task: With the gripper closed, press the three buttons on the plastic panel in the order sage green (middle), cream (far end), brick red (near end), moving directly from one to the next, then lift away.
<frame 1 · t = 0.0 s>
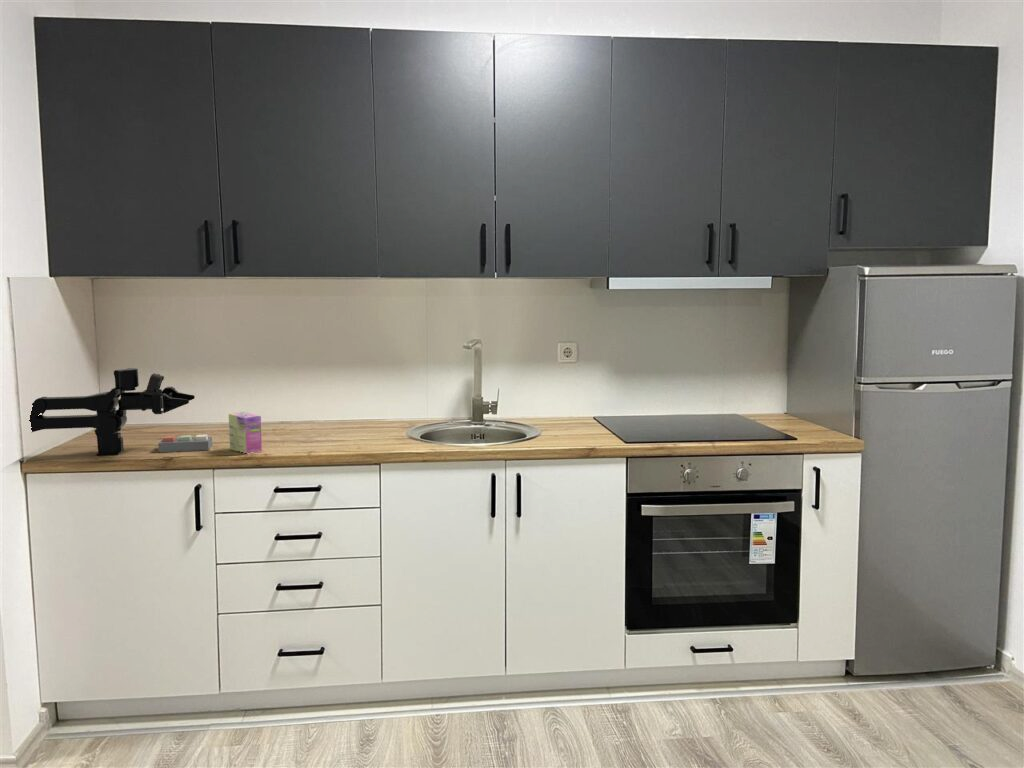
hand: (191, 399, 253), 17 cm above the worktop, tool horizontal, fingers open, 9 cm apart
cream button: (201, 438, 256), point 3 cm above the worktop, slide at 0.0 cm
red button: (169, 440, 254), point 3 cm above the worktop, slide at 0.0 cm
button panel: (186, 448, 256), on the worktop
box: (246, 451, 253), on the worktop
green button: (185, 439, 255), point 3 cm above the worktop, slide at 0.0 cm
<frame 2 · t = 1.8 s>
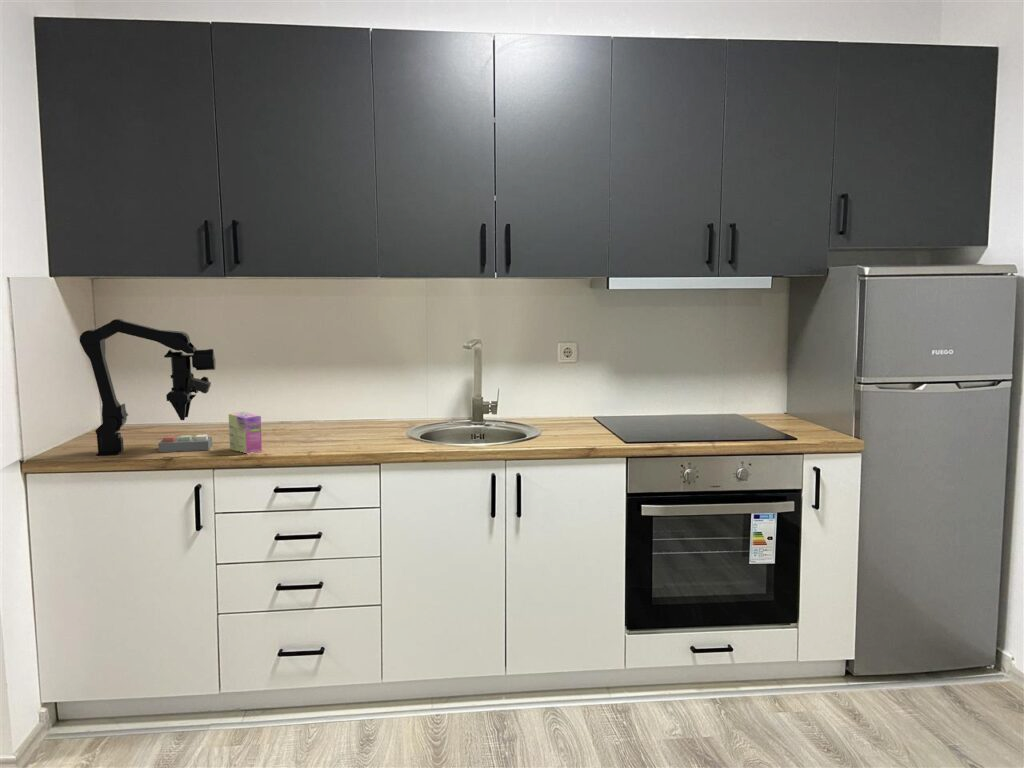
hand: (184, 418, 254), 10 cm above the worktop, tool pointing down, fingers open, 5 cm apart
nothing on the worktop moved.
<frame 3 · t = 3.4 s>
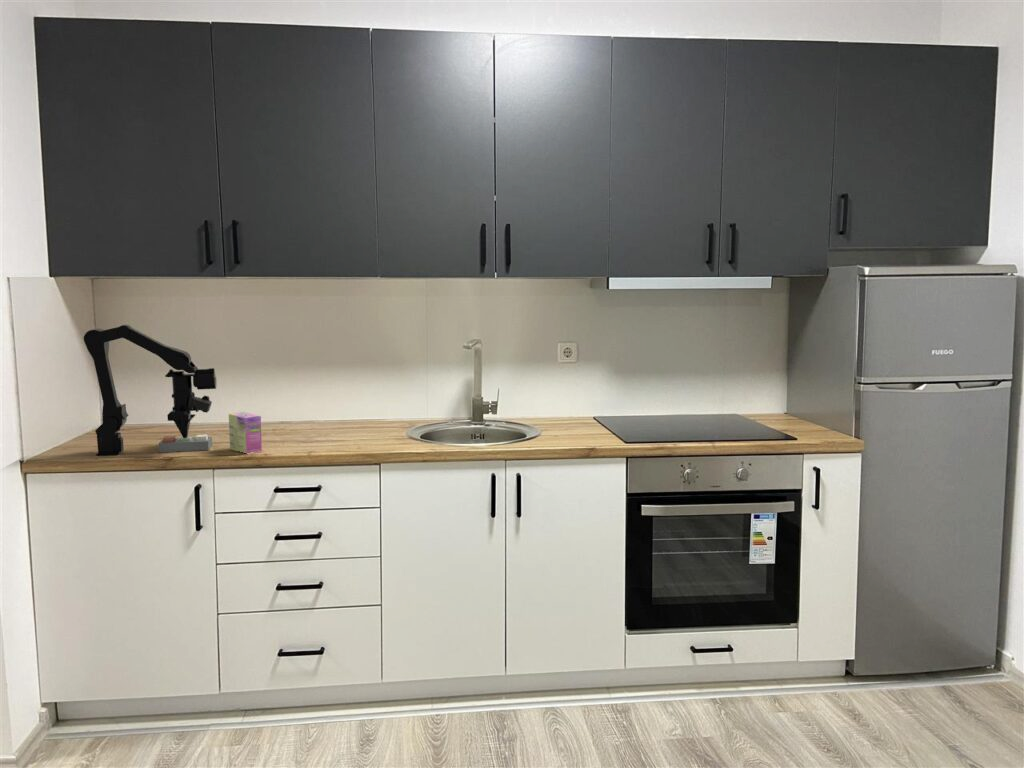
hand: (185, 437, 255), 4 cm above the worktop, tool pointing down, fingers closed, pressing on green button
green button: (185, 440, 255), point 3 cm above the worktop, slide at 0.4 cm, touching gripper
everything else where it was.
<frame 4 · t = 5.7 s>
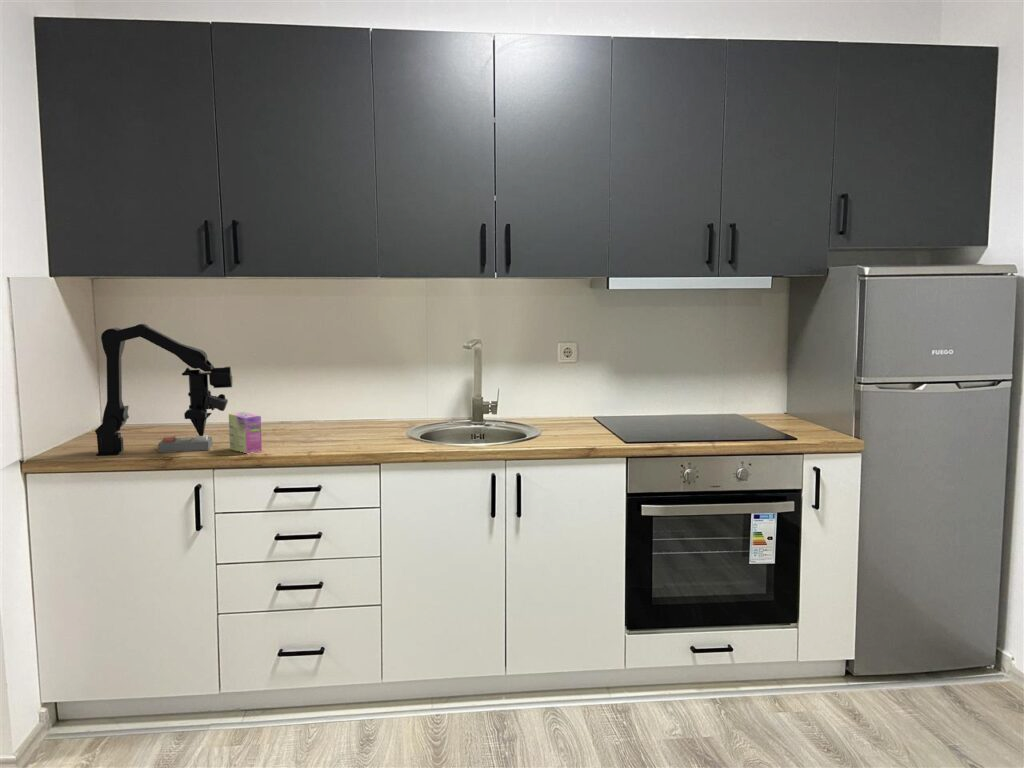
hand: (201, 435, 256), 4 cm above the worktop, tool pointing down, fingers closed, pressing on cream button
cream button: (201, 438, 256), point 3 cm above the worktop, slide at 0.1 cm, touching gripper
green button: (185, 442, 255), point 2 cm above the worktop, slide at 0.9 cm
everything else where it was.
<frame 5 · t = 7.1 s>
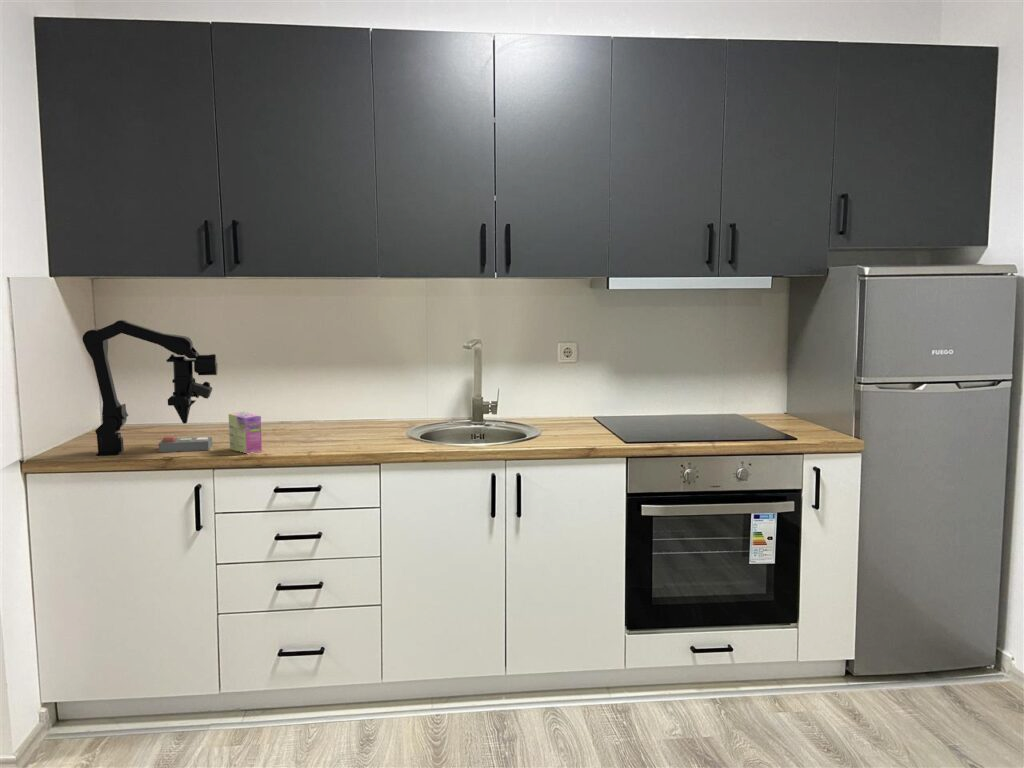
hand: (185, 423, 255), 9 cm above the worktop, tool pointing down, fingers closed
cream button: (202, 441, 256), point 2 cm above the worktop, slide at 0.9 cm
everything else where it was.
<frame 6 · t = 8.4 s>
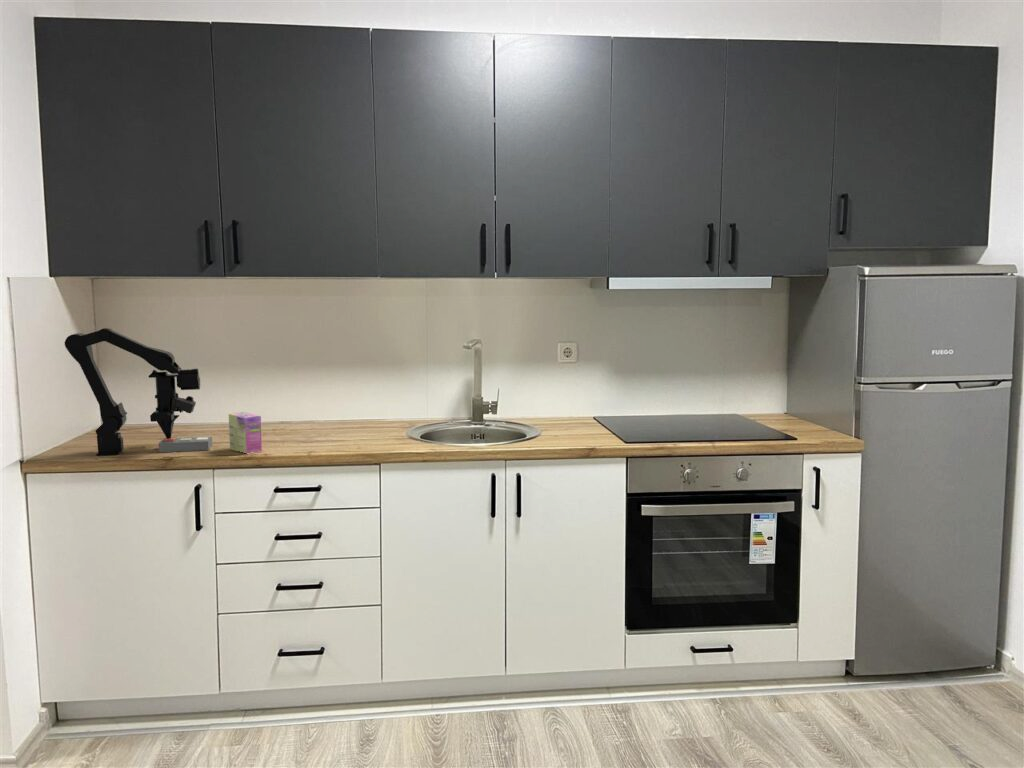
hand: (168, 438, 254), 4 cm above the worktop, tool pointing down, fingers closed, pressing on red button
red button: (169, 441, 254), point 3 cm above the worktop, slide at 0.5 cm, touching gripper
everything else where it was.
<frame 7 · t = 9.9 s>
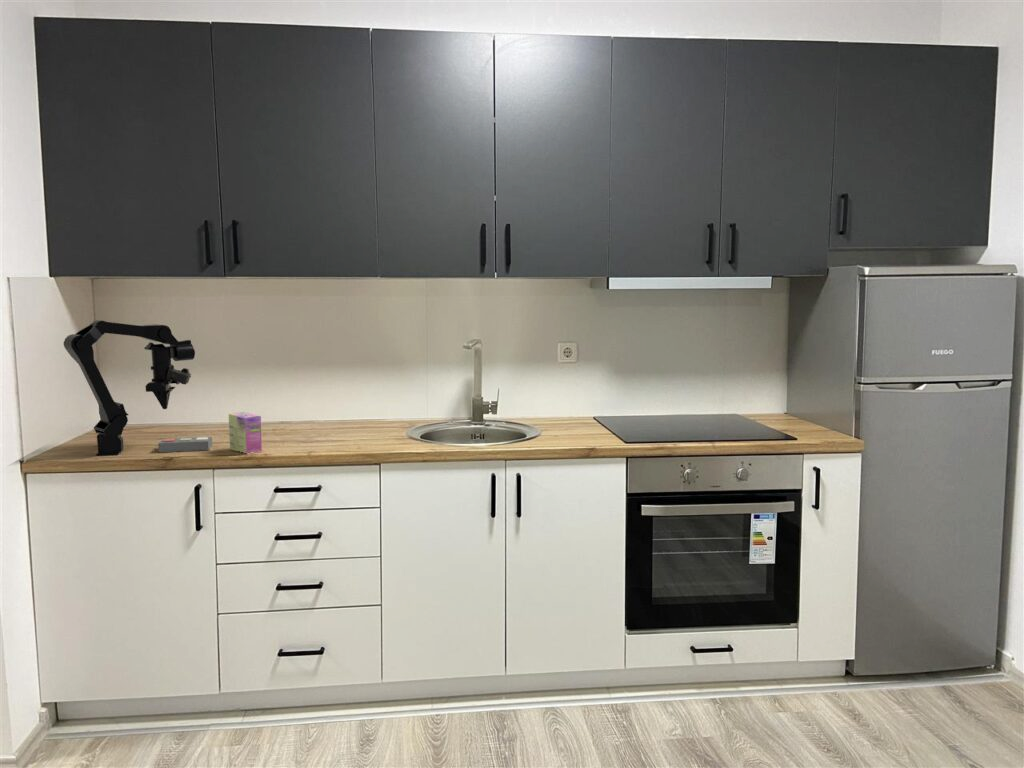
hand: (165, 409, 262), 12 cm above the worktop, tool pointing down, fingers closed
red button: (169, 442, 254), point 2 cm above the worktop, slide at 0.9 cm
everything else where it was.
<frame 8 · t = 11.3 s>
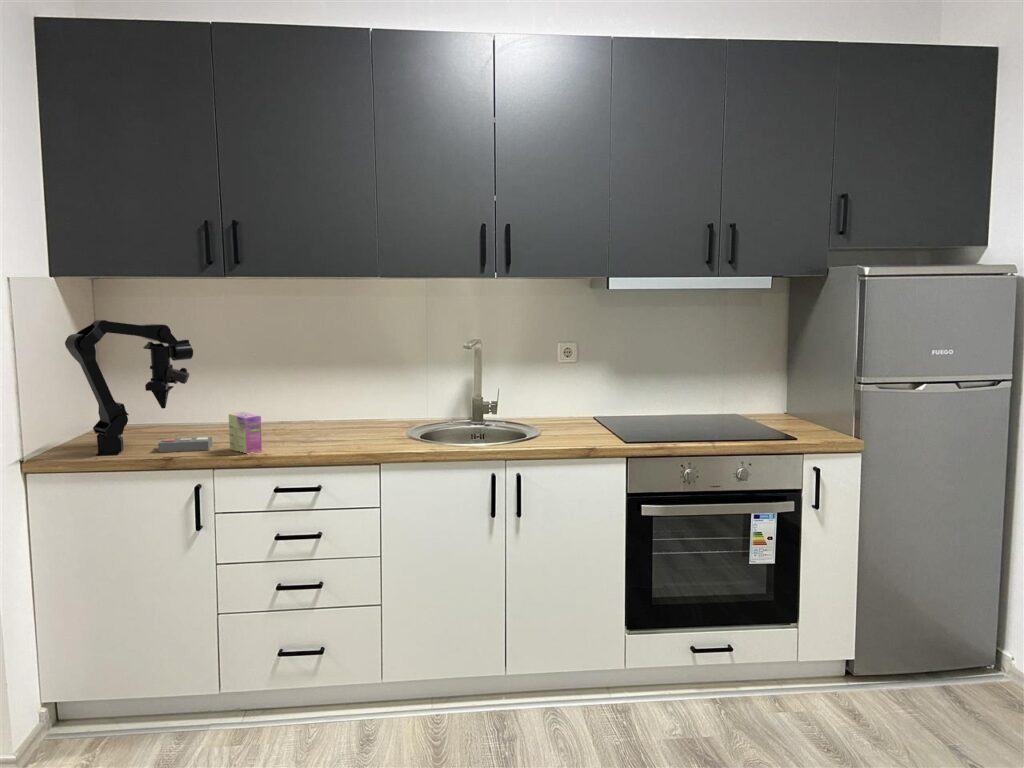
hand: (163, 408, 263), 12 cm above the worktop, tool pointing down, fingers closed
nothing on the worktop moved.
at the end: green button slide at 0.9 cm; cream button slide at 0.9 cm; red button slide at 0.9 cm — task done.
